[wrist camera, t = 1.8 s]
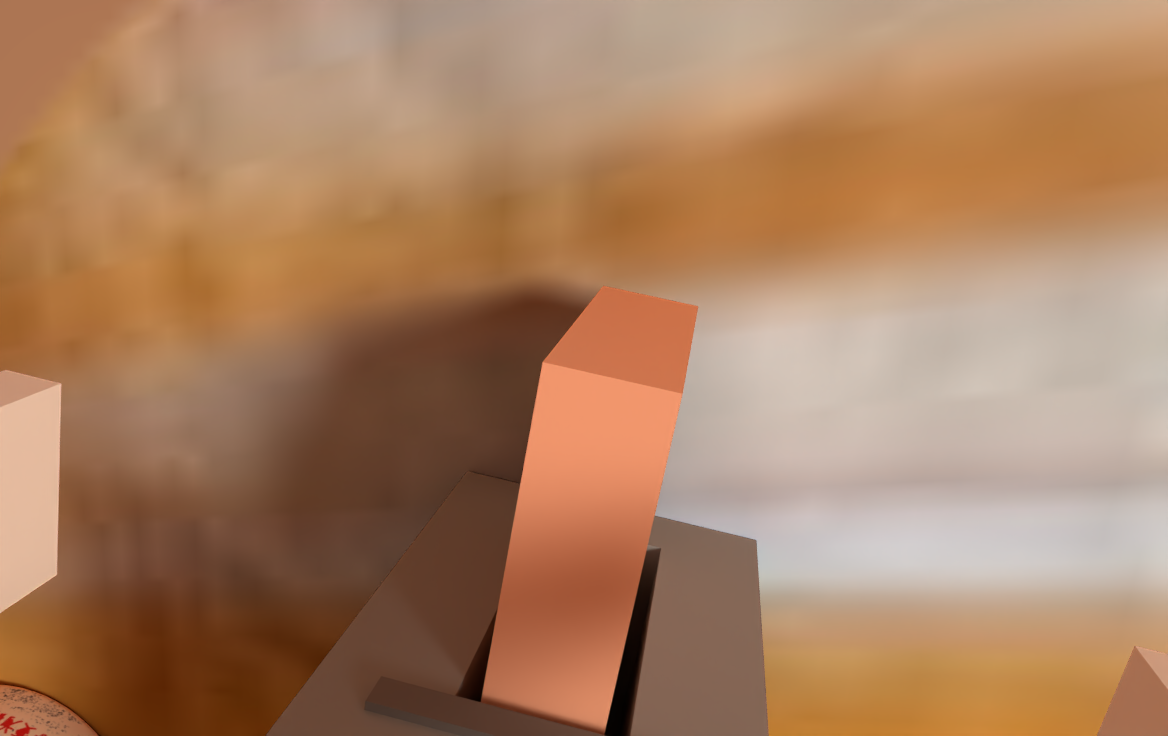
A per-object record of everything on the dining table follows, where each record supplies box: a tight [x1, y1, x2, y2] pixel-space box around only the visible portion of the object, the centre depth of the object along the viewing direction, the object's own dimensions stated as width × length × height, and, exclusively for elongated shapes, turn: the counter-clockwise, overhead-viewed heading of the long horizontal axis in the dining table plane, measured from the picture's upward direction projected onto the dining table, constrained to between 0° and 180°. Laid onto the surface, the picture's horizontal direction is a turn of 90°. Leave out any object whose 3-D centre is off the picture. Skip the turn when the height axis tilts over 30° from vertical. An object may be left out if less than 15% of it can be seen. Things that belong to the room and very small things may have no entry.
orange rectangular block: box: [481, 286, 698, 735], centre depth 22 cm, size 16×2×8 cm, turn 169°
